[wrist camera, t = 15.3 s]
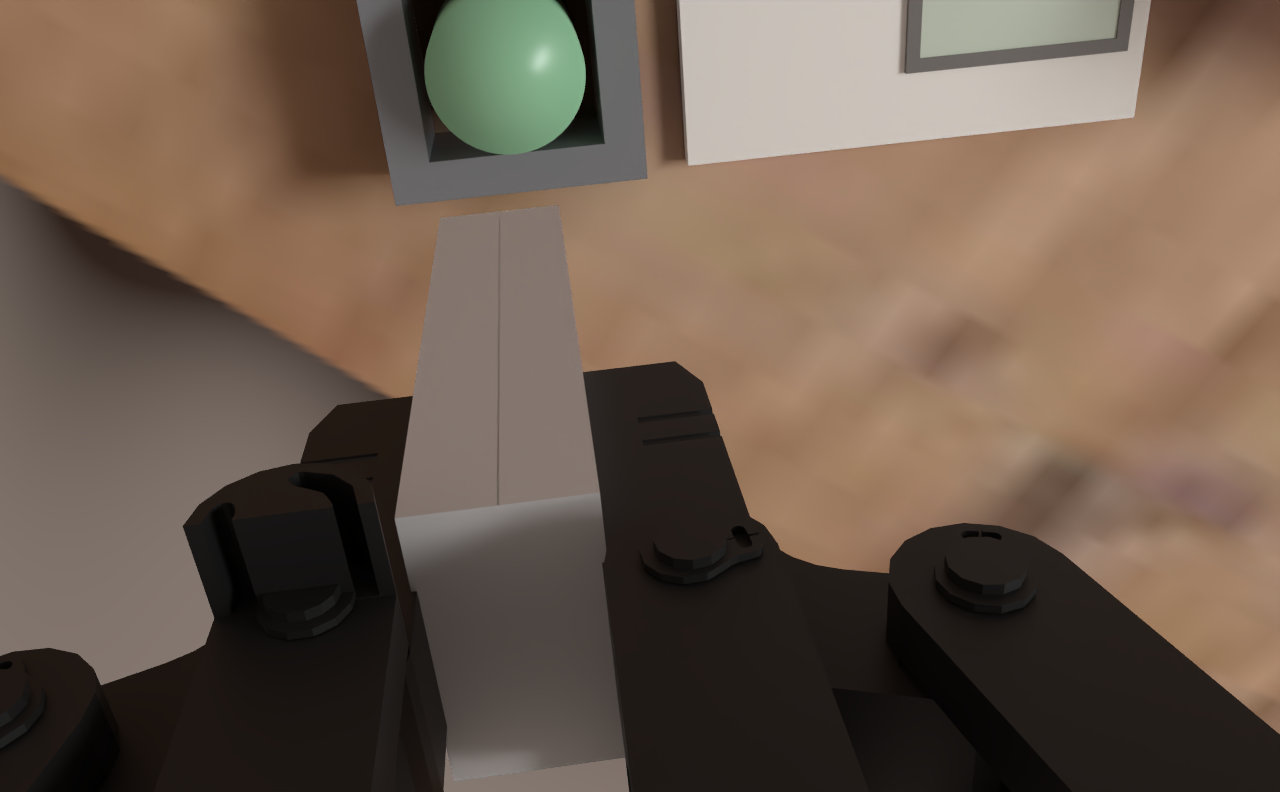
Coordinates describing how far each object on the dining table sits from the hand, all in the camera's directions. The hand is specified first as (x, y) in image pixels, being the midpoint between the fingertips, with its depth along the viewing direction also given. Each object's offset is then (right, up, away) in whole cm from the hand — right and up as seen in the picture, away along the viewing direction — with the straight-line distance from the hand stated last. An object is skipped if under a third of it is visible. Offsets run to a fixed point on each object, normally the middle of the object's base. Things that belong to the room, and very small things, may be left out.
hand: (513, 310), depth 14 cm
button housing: (-2, +9, +17) cm, 19 cm away
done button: (-2, +9, +16) cm, 19 cm away
